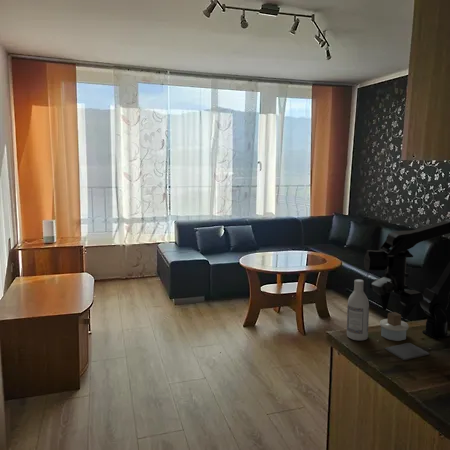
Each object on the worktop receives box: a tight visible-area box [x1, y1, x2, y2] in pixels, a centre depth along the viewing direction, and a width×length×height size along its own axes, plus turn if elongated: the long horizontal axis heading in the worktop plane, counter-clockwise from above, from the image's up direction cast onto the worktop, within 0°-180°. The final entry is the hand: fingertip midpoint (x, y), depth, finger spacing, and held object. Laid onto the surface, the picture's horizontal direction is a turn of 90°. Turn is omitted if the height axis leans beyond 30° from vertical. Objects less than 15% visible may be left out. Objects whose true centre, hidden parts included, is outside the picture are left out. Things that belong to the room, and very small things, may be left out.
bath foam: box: [346, 278, 370, 342], centre depth 137 cm, size 7×7×20 cm
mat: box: [384, 342, 430, 361], centre depth 127 cm, size 10×8×1 cm
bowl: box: [380, 326, 407, 342], centre depth 138 cm, size 8×8×4 cm
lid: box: [379, 311, 409, 332], centre depth 138 cm, size 9×9×4 cm
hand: (394, 314), depth 137 cm, fingers open, 9 cm apart
